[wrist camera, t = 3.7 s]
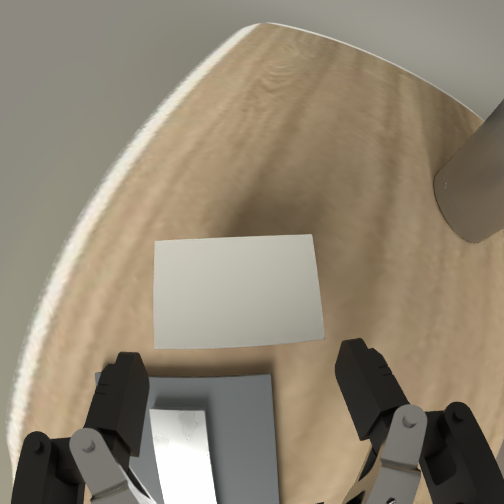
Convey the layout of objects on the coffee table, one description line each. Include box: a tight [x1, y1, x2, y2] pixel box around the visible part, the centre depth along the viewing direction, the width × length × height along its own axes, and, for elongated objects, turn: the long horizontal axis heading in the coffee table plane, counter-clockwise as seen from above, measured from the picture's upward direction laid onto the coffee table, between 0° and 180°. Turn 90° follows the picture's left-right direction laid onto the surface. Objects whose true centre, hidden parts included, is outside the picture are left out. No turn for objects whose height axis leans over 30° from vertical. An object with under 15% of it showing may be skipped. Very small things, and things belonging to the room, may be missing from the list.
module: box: [154, 234, 325, 349], centre depth 14 cm, size 6×4×9 cm
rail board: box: [95, 372, 279, 504], centre depth 13 cm, size 12×20×1 cm, turn 4°
